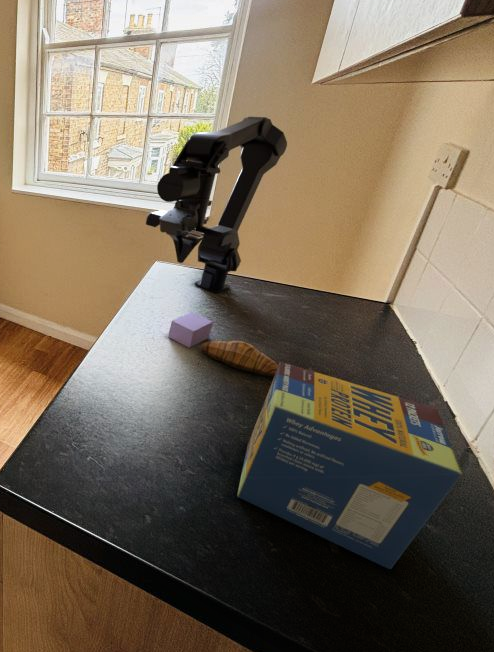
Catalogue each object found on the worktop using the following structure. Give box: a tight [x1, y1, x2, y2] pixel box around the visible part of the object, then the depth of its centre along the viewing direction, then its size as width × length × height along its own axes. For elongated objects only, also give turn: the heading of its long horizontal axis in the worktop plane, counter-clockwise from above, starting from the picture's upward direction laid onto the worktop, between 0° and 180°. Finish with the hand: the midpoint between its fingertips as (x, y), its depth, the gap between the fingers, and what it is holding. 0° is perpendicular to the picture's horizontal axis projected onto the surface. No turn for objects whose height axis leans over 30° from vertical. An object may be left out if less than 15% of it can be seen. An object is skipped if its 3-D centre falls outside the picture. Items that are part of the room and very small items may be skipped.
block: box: [167, 311, 214, 349], centre depth 84 cm, size 7×5×4 cm
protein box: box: [236, 361, 463, 570], centre depth 48 cm, size 10×15×16 cm
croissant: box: [200, 340, 279, 378], centre depth 76 cm, size 14×7×5 cm, turn 52°
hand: (180, 262), depth 94 cm, fingers closed
